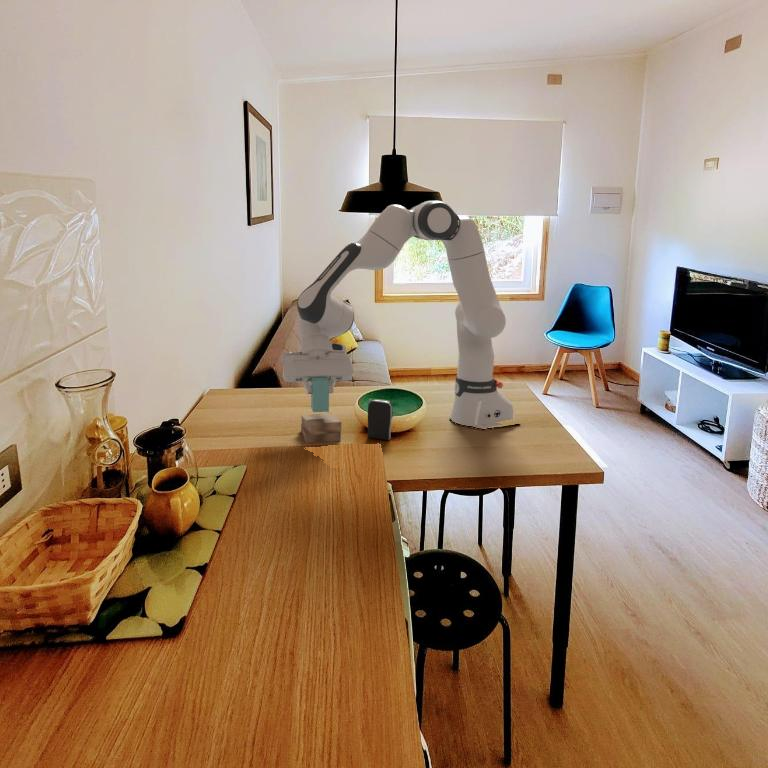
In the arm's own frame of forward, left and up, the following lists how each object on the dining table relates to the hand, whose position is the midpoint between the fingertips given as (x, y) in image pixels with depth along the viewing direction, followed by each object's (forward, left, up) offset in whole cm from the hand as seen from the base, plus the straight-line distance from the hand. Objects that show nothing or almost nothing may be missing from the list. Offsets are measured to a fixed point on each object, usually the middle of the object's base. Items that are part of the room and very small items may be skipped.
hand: (320, 392), depth 172 cm
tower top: (0, 0, -11) cm, 11 cm away
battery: (-17, +3, -13) cm, 22 cm away
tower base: (0, -1, -14) cm, 14 cm away
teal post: (0, -1, -5) cm, 5 cm away
